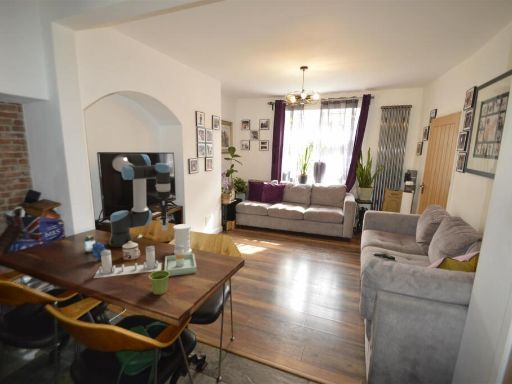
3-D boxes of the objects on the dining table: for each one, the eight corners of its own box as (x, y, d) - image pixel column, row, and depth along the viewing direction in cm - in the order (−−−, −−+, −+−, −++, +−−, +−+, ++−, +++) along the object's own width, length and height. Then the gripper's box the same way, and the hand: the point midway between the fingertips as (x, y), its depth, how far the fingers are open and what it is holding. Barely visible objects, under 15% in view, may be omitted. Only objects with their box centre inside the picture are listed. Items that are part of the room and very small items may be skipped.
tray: (165, 261, 157) (165, 256, 157) (194, 258, 162) (193, 253, 162) (164, 276, 139) (164, 270, 138) (196, 272, 144) (196, 266, 143)
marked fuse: (176, 264, 152) (175, 244, 150) (184, 263, 153) (183, 244, 151) (176, 267, 147) (175, 247, 146) (184, 266, 149) (184, 247, 147)
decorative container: (188, 247, 180) (187, 223, 177) (194, 253, 170) (193, 227, 167) (171, 250, 174) (170, 225, 171) (176, 257, 164) (175, 230, 161)
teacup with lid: (119, 260, 157) (118, 242, 155) (131, 255, 165) (130, 238, 164) (134, 264, 153) (133, 245, 151) (145, 258, 161) (144, 240, 159)
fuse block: (98, 272, 142) (96, 249, 140) (161, 265, 152) (160, 243, 150) (93, 280, 133) (91, 256, 131) (161, 272, 143) (159, 249, 140)
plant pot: (163, 284, 131) (162, 268, 129) (174, 291, 125) (173, 274, 123) (145, 292, 123) (144, 275, 122) (156, 299, 117) (155, 281, 116)
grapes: (86, 262, 154) (84, 243, 152) (96, 258, 160) (95, 239, 158) (101, 265, 150) (99, 246, 148) (111, 260, 157) (109, 242, 155)
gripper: (157, 187, 155) (158, 220, 159) (155, 195, 132) (156, 234, 136) (170, 186, 158) (171, 220, 161) (170, 194, 134) (171, 233, 138)
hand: (164, 226), depth 149 cm, fingers open, 13 cm apart
